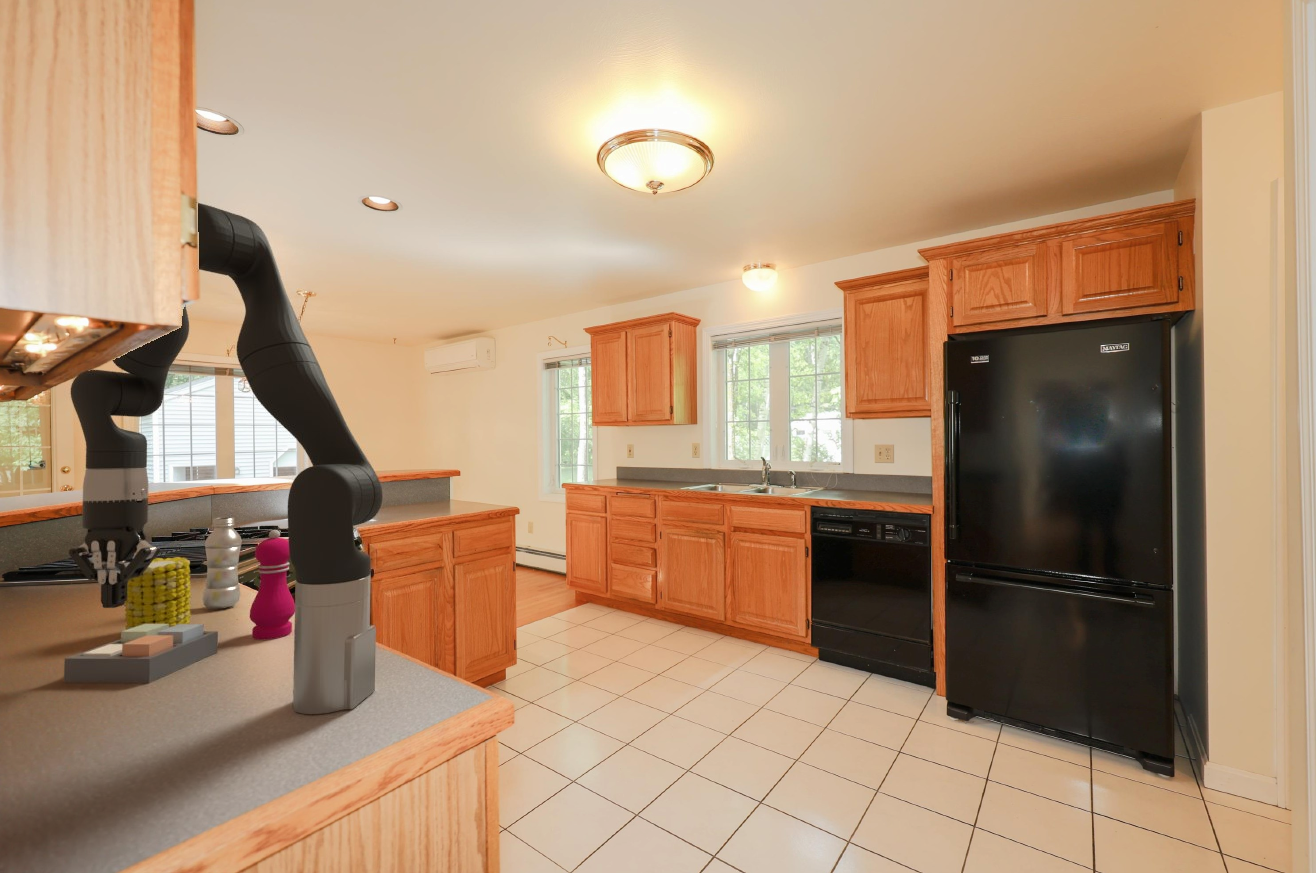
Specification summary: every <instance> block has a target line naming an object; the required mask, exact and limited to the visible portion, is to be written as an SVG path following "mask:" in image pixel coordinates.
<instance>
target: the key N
mask: <svg viewBox="0 0 1316 873" xmlns="http://www.w3.org/2000/svg"><path fill="white" fill-rule="evenodd" d="M121 652H122V644H109V645H106V646H103V647H101V648H98V649H95V650H92V651H89V652H86V653H83V656H113V655H115V654H118V653H121Z"/></svg>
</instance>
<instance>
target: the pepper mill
mask: <svg viewBox="0 0 1316 873" xmlns="http://www.w3.org/2000/svg"><path fill="white" fill-rule="evenodd" d="M280 536H281V533H280V531H279V530H278V529H272V530H270V532H269V533H268V537H269V538H267V539H263V540H262V541H261V542H258V545H257V546H256V548H255V551H254V557H255V560H256V561H258V562H259V563H260V564H258V565H257V567H258V570H257V573H258V574H260V575H259V576H260V582H259V587H258V591H257V592H256V593H257V594H256V595H255V597H254V599H253V602H252V603H251V607H250V610H249V619H250V621H251V622H252V623H253V624H254V625H255V626H253V628H252V629H251V630H252V632H251V638H253V640H259V641H265V640H266V641H267V640H275V639H279V638H282V637H287V636H288V635H290V634H291V633H292V632H293V622H292V621H290V619H291V618H292V617H293V616H295V599H294V598H293V596H292V594H291V592H290V589H289V587H288V583H287V580H288V579H287V572H288V570H290V566H289V565H290V564H291V563H290V562H289V561H288V560H289V559H290V555H289V539H286V538H283V537H280Z"/></svg>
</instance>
